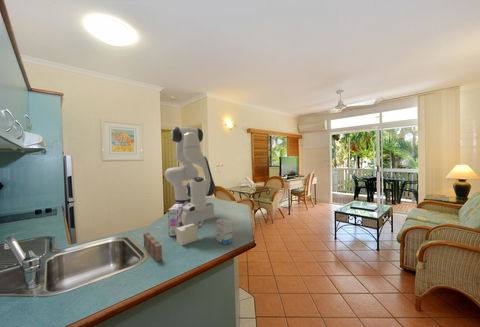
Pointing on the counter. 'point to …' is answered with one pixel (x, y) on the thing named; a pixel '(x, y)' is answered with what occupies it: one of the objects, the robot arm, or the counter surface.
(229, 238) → the ink box
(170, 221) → the candy box
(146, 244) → the walnut board
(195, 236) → the cream block
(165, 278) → the counter surface
